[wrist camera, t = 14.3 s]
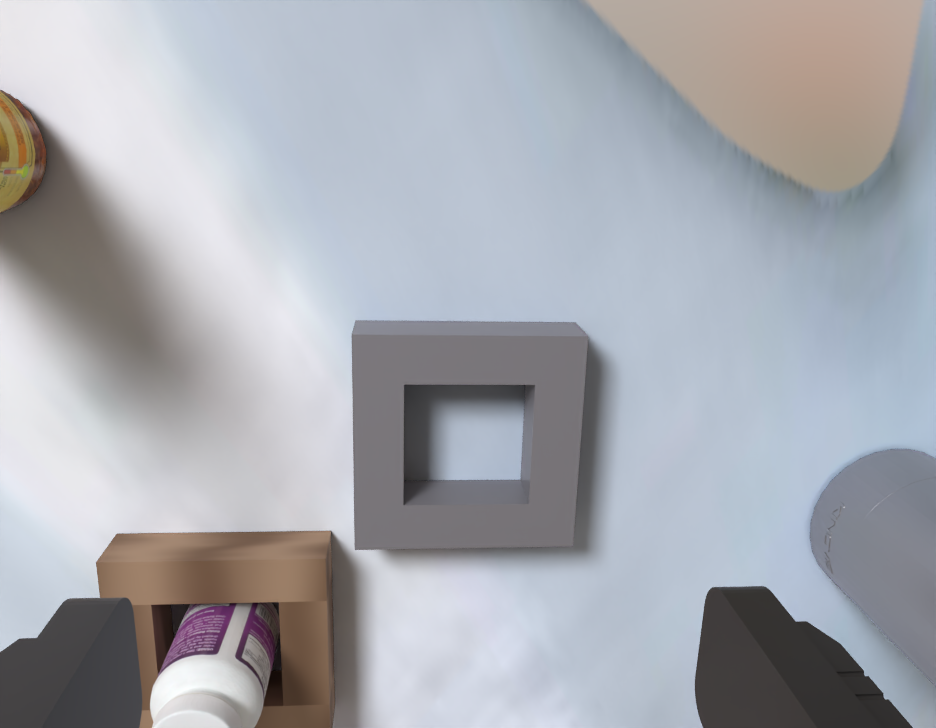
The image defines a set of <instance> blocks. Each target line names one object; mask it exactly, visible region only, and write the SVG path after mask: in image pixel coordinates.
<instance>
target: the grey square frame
mask: <svg viewBox="0 0 936 728" xmlns="http://www.w3.org/2000/svg"><path fill="white" fill-rule="evenodd" d="M587 349H588V335H587V334H586V333H585V332H584V331H583V330H582V329H581V328H580V327H579V326H578V325H577V324H576V323H570V322H463V321H355V324H354V328H353V332H352V382H353V454H354V527H355V550H374V549H440V548H506V547H572V546H573V542H574V528H575V514H576V500H577V486H578V473H579V459H580V445H581V431H582V418H583V404H584V390H585V376H586V363H587ZM404 385H525V402H524V422H523V442H522V461H521V480H439V481H404Z"/></svg>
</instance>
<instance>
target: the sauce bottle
mask: <svg viewBox="0 0 936 728" xmlns="http://www.w3.org/2000/svg"><path fill="white" fill-rule="evenodd" d="M45 169H46V148H45V144H44V141H43V138H42V135H41V133H40V131H39V128H38V126H37V124H36V122H35V121H34V120H33V117H32V115H31V113H30V112H29V111H27V110H26V109H25V108H24V106H23V105H22V104H21V102H20V101H19V100H18V99H15V98H14V97H12V96H11V95H10V94H7V93H6V92H4V91H2V90H0V213H2V212H4V211H6V210H9V209H11V208H13V207H15V206H17V205H19V204H21V203H23V202H24V201H26V200H27V199H28V198H29V197H30V196H31V195H33V194H34V193H35V191H36V190H37V189H38V187H39V186H40V184H41V182H42V178H43V176H44V174H45Z"/></svg>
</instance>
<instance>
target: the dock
mask: <svg viewBox="0 0 936 728" xmlns="http://www.w3.org/2000/svg"><path fill="white" fill-rule="evenodd" d="M96 566H97V575H98V583H99V592H100V598H122V597H125V598H128V599H129V600H130V602H131V604H132V607H133V612H134V620H135V630H136V639H137V649H138V659H139V668H140V678H141V687H142V714H141V721H140V727H139V728H152V726H153V723H154V722H153V719H152V716H151V711H150V699H151V693H152V688H153V685H154V683H155V681H156V679H157V677H158V674H159V672H160V670H161V668H162V665H163V663H164V660H165V658H166V656H167V654H168V651H169V649H170V647H171V645H172V642H173V640H174V637H173V626H172V614H171V604H210V603H258V602H279V620H280V643H281V665H282V670H280V671H271V674H270V677H269V681H268V686H267V690H266V694H265V699H264V704H263V709H262V712H261V716H260V717H259V720H258V722H257V724H256V726H255V727H254V728H332V725H333V717H334V708H335V686H334V643H333V599H332V556H331V531H290V532H214V533H138V534H116V536H115V537H114V539H113V540H112V541H111V543H110V544H109V545H108V547H107V548H106V550H105V551H104V552H103V554H102V555H101V556H100V558H99V559H98V561H97V562H96Z"/></svg>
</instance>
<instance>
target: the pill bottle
mask: <svg viewBox="0 0 936 728" xmlns="http://www.w3.org/2000/svg"><path fill="white" fill-rule="evenodd" d="M279 633H280V620H279V616H278V613H277V611H276V609H275V607H274V605H273V604H272V603H271V602H258V603H210V604H190V606H189V607H188V609H187V611H186V613H185V616H184V618H183V620H182V622H181V624H180V626H179V629H178V631H177V634H176V636H175V638H174V640H173V642H172V645H171V647H170V649H169V651H168V654H167V656H166V658H165V660H164V663H163V665H162V668H161V670H160V672H159V674H158V677H157V679H156V681H155V683H154V685H153V688H152V693H151V699H150V711H151V716H152V719H153V722H154V723H153V726H152V728H254V727H255V726H256V724H257V722H258V720H259V717H260V716H261V712H262V709H263V704H264V699H265V694H266V690H267V686H268V681H269V677H270V674H271V669H272V666H273V661H274V657H275V652H276V648H277V643H278V639H279Z"/></svg>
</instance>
